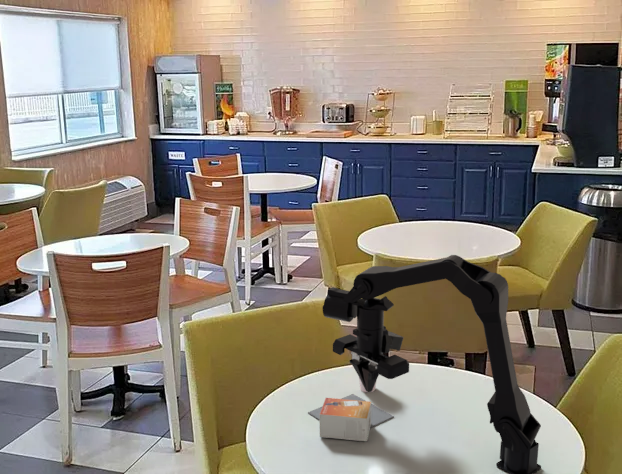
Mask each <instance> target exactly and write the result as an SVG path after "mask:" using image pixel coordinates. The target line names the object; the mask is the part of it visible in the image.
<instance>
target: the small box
mask: <svg viewBox="0 0 622 474" xmlns="http://www.w3.org/2000/svg"><path fill="white" fill-rule="evenodd" d="M372 403H373V402H372V401H368V400H365V401H357V400H346V399H342V398H335V397H334V398H333V397H325V399H324V402H323V404H322V406H321V407H322V409H321V412H320V417H319V419H320V420H319V438H325V439H326V438H327V439H337V440H347V441H349V440H350V441H358V442H368V439H369V435H370V431H371V430H370V429H371V428H370V426H371V405H372Z"/></svg>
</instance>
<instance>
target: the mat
mask: <svg viewBox="0 0 622 474" xmlns="http://www.w3.org/2000/svg"><path fill="white" fill-rule="evenodd" d="M341 399H346V400H357V401H366V400H365V399H363V398H361V397H359V396H358V395H356V394H354V393H352V394H349V395H346V396H344V397H342V398H341ZM321 409H322V406H320V407H318V408H314V409H313V410H310V411H308V412H307V414H308V415H310V416H312V417H313V418H314V419H317V420H318V421H320V419H319V417H320V412H321ZM393 418H395V415H392V414H391V413H390V412H388V411H386V410H384V409H381V407H378V406H377V405H375V404H372V405H371V426H370V429H372V428H375V427H376V426H379V425H380V424H383V423H384V422H387V421H389V420H391V419H393Z"/></svg>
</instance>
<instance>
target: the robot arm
mask: <svg viewBox="0 0 622 474" xmlns="http://www.w3.org/2000/svg"><path fill="white" fill-rule="evenodd" d="M442 280H447V281H449V282H450V283H451V284H452V285H453V286H454V287H455V288H456V289H457V290H458V292H460V293H461V294H462V295H463V296H465V298H468V299H469V300H470V302H471V304H472V307H473V309H474V312H475V315H476V316H477V317H478V319H479V320H480V322H481V323H482V325H483V332H484V336H485V341H486V347H487V352H488V358H489V364H490V369H491V374H492V381H493V386H494V392H493V394H492V396H491V397H490V399H489V401H488V402H487V404H486V405H487V410H488V412H489V415H490V417H489V418H490V419H489V424H493V428H494V430H495V431H496V433H498V434H499V437H500V439H501V441H500V448H499V449H500V450H499V461H497V462H496V467H498V468H499V469H500V470H501V469H502V470H503V471H505V472H507V473H509V474H535V473H537V472H538V471H540V470H541V469H542V465H541V464H539V463H538V456H539V445H540V443H539V442H537V441H536V437H537V435H538V434H539V431H540V429H541V425H542V424H541V423H540V422H539V421H538V420H537V419H536V418H535V416H534V415H533V414H532V413H531V409H530V406H529V403H528V401H527V398H526V395H525V393H524V392H523V391H522V389H521V388H520V386H519V384H518V379H517V373H516V367H515V362H514V357H513V356H514V355H513V351H512V345H511V344H512V343H511V339H510V334H509V328H508V322H507V313H508V305H509V283H508V281H507V279H506V277H504V276H502V275H501V274H500V273H497V272H491V271H489V270H488V269H487V268H485V267H483V266H481V265H478V264H475V263H472V262H471V261H468V260H466V259H464V258H463V257H461V256H459V255H456V254H451V255H449V256H446V257H443V258H438V259H433V260H432V259H431V260H426V261H422V262H417V263H414V264H409V265H403V266H397V267H395V266H394V267H393V266H388V265H373V266H371V267H368V268H367V269H365V270H363V271H362V272H361V273H359V274H357V275H356V276H355V278H354V280H353V286H352V288H351V289H350V290H345V289H340V288H338V287H334V286H331V287H330V288H329V289H327V294H326V297H325V298H324V303H323V305H322V314H323V316H324V317H325V318H328V319H333V320H338V321H343V322H346V323H347V322H348V323H350V322H352V321H353V320H354V319H356V328H353V329H352V334H347V335H344V336H342V337H341V336H340V337H338V338H336V339H335V340H334V341H333V343H332V352H333V353H335V354H337V355H340V356H342V355H344V354H345V349H346V350H348V351H349V352H350V354H351V359H349V364H351V365H352V367H353V368H354V370H355V372H356V374H357V375H358V379H359V378H360V380H361V382H362V384H363V386H364V388H365V390H366V391H367V392H366V393H372V392H371V391H372V390H373V387H374V385H375V382H376V383H377V379H378V378H379V376H382V377H383V378H385V379H387V380H393V379H396V378H397V377H401V376H403V375H405V374H408V373H409V372H410V362H409V361H408V360H407V359H406V358H403V357H401V356H399V355H396V354H392V355H390V356H388V355H386V354H388V353H390V350H394V351H395V350H396V351H399V352H400V351H401V347H402V344H403V340H404V336H402V335H399V334H398V333H395V332H392V331H389V330H388V329H387V328H386V326H385V325H384V322H385V321H384V320H385V315H384V314H385V312H387V311H389V310H390V309H392V307H394V303H393V302H392V301H391V300H390V299H389V298H388V296H386V295H385V296H383V297H382V298H377V297H379V296H382V295H384V294H387V293H389V292H391V291H393V290H395V289H398V288H404V287H408V286H409V287H410V286H414V285H420V284H425V283H430V282H436V281H442Z"/></svg>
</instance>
